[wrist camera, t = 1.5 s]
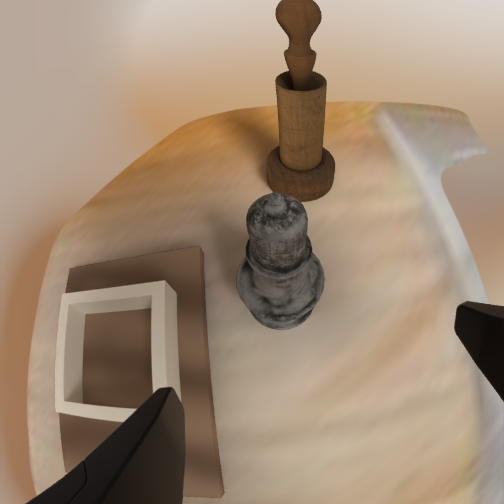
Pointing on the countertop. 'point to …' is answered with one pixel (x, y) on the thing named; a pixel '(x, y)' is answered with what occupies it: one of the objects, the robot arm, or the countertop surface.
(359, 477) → the countertop surface
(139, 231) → the countertop surface
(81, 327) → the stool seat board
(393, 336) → the countertop surface
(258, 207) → the salt shaker
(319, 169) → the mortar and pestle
